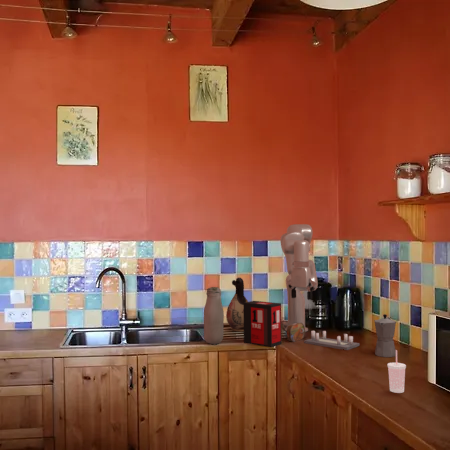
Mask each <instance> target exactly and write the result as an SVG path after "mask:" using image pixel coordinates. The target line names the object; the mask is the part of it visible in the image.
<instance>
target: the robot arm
mask: <svg viewBox="0 0 450 450" xmlns="http://www.w3.org/2000/svg"><path fill="white" fill-rule="evenodd" d="M313 232H314V230H313V228H312V226H311V225H310V224H306V223H302V224H301V223H300V224H299V223H298V224H297V223H296V224H290V225H288V227H287V228H286V233H283V234H282V235H281V236H280V246H281V250H282V252H283V255H284V257H285V262H286V263H285V264H286V270H287V273H288V274H287V276H286V278H285V286H286V292H287V321H283V322H282V326H285V328H284V331H285V332H287V328H288V326H289V325H292V324H295V323H302V324H303V325H304V328H305V333H306V332H308V331H309V328H308V327H306V312H305V311H306V299H305V297H304V295H303V294H302V293H301V292H306V291H307V292H306V295H307V296H306V298H307V300H309V301H310V300H313V291H316V290H317V289H318V283H319V282H318V276H317V272H316V265H315V262H314V261H313V260H312V259H310V258H309V257H310V256H309V255H310V254H309V253H310V251H311V242H312V238H313Z"/></svg>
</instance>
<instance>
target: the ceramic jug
mask: <svg viewBox="0 0 450 450" xmlns="http://www.w3.org/2000/svg"><path fill="white" fill-rule="evenodd" d="M231 284H232V286H234V287H235V293H234V295H233V296H232V298H231V300H230V302H229V304H228V307H227V310H226V312H225V313H226V314H225V315H226V316H225V317H226V322H227V324H228V325H229V326H230V328H231V329H232V331H233V332H243V333H244V304H243V303H245V302H249V300H248V299H247V297H246V296H245V283H244V280H243V278H242V277H237V278H235V279H233V280H232V281H231Z"/></svg>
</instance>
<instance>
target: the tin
mask: <svg viewBox="0 0 450 450" xmlns="http://www.w3.org/2000/svg"><path fill="white" fill-rule="evenodd" d="M305 334H306V332H305V328H304V325H303V324H302V323H295V324H292V325H289V326H288V328H287V331H286V338H287V339H286V340H287V341H289V342H292V343H295V342H299V341H300V340H303V339H304V337H305Z"/></svg>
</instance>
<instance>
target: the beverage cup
mask: <svg viewBox="0 0 450 450" xmlns="http://www.w3.org/2000/svg"><path fill="white" fill-rule="evenodd" d="M395 351H396V356H395V362H388V363H387V368H388V369H387V370H388V381H389V392H392V393H397V394H401V393H404V392H405V380H406V379H405V378H406V368H407V365H406V364H405V363H401V362H398V350H397V349H395Z"/></svg>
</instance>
